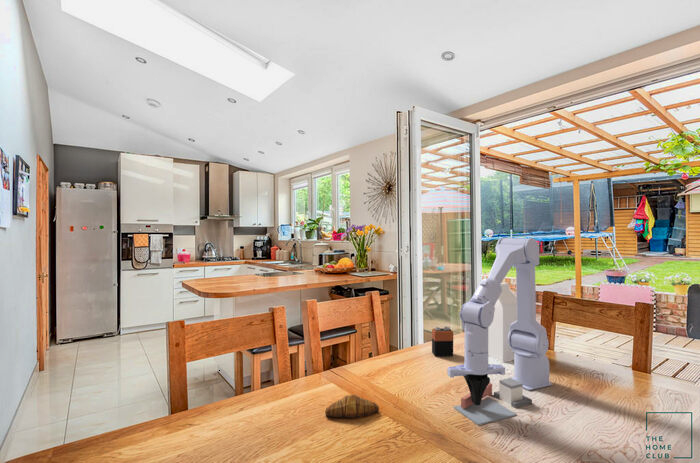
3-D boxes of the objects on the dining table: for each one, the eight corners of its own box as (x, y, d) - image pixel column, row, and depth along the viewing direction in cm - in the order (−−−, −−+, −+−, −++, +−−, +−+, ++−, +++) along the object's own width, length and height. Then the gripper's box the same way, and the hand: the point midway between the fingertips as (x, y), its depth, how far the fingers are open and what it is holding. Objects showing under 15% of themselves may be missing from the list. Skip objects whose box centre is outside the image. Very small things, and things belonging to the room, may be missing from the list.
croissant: (375, 406, 95) (375, 387, 95) (382, 419, 88) (382, 399, 88) (323, 410, 92) (323, 390, 92) (326, 424, 86) (326, 403, 86)
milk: (502, 362, 125) (503, 286, 125) (476, 352, 135) (477, 282, 135) (525, 356, 131) (526, 284, 130) (499, 347, 141) (499, 280, 141)
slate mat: (489, 399, 98) (489, 398, 98) (516, 415, 89) (516, 414, 89) (453, 407, 93) (453, 406, 93) (478, 425, 85) (478, 424, 85)
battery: (453, 356, 131) (453, 328, 130) (435, 357, 130) (435, 329, 130) (449, 352, 135) (449, 325, 135) (431, 352, 134) (431, 325, 134)
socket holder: (510, 392, 102) (510, 388, 102) (531, 403, 96) (531, 399, 95) (493, 395, 100) (493, 392, 100) (514, 407, 93) (514, 404, 93)
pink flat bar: (493, 394, 100) (493, 384, 100) (465, 411, 91) (465, 399, 91) (488, 393, 101) (488, 382, 101) (460, 409, 92) (460, 397, 92)
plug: (510, 395, 100) (510, 377, 100) (522, 402, 96) (522, 383, 96) (499, 398, 98) (499, 380, 98) (511, 405, 95) (511, 386, 95)
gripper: (495, 343, 97) (494, 394, 97) (442, 345, 95) (442, 397, 95) (509, 352, 90) (509, 407, 90) (453, 355, 88) (453, 411, 88)
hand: (476, 403), depth 92 cm, fingers closed
